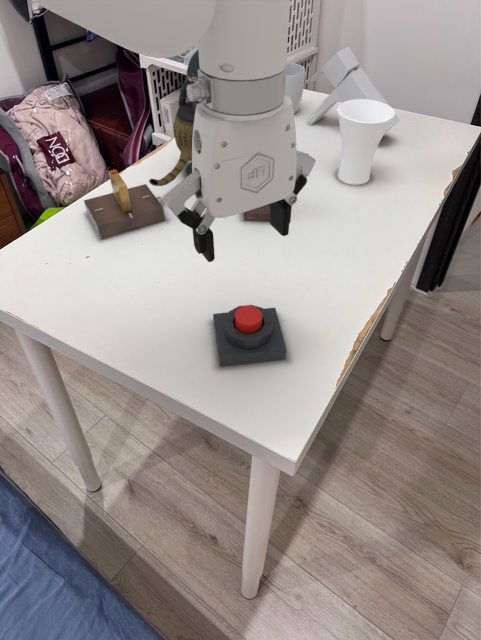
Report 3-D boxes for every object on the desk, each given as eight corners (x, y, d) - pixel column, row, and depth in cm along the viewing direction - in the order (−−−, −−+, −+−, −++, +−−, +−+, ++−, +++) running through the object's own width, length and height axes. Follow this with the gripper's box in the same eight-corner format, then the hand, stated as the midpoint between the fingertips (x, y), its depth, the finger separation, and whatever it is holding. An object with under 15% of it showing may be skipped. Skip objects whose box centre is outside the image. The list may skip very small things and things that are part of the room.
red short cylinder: (237, 335, 61) (237, 326, 60) (233, 315, 64) (233, 306, 62) (263, 332, 62) (264, 323, 60) (259, 313, 64) (259, 304, 63)
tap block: (102, 242, 81) (98, 227, 79) (86, 212, 87) (82, 197, 85) (166, 223, 85) (164, 208, 83) (147, 196, 91) (144, 181, 89)
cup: (389, 176, 96) (406, 110, 86) (359, 196, 91) (373, 128, 81) (347, 159, 101) (359, 94, 91) (317, 176, 96) (325, 110, 86)
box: (276, 223, 85) (278, 187, 79) (243, 221, 85) (243, 185, 80) (277, 204, 89) (279, 169, 83) (246, 202, 89) (246, 167, 84)
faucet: (388, 129, 100) (335, 48, 97) (338, 168, 113) (290, 98, 111) (401, 119, 103) (350, 41, 101) (351, 158, 117) (305, 90, 114)
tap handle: (132, 210, 82) (126, 184, 78) (124, 212, 82) (118, 186, 78) (121, 194, 86) (115, 168, 82) (114, 196, 85) (108, 170, 82)
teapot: (254, 161, 100) (256, 40, 83) (181, 217, 86) (166, 85, 69) (208, 147, 105) (202, 29, 88) (132, 198, 91) (107, 69, 74)
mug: (275, 101, 122) (277, 59, 114) (306, 108, 119) (311, 66, 111) (252, 120, 114) (253, 76, 107) (285, 127, 111) (288, 83, 104)
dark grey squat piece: (219, 367, 62) (218, 348, 59) (213, 324, 68) (212, 304, 65) (285, 360, 63) (287, 340, 60) (274, 317, 68) (275, 298, 66)
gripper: (169, 125, 36) (188, 285, 49) (346, 83, 42) (323, 237, 55) (136, 92, 41) (162, 247, 53) (300, 58, 47) (288, 205, 59)
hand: (243, 241), depth 54 cm, fingers open, 9 cm apart
